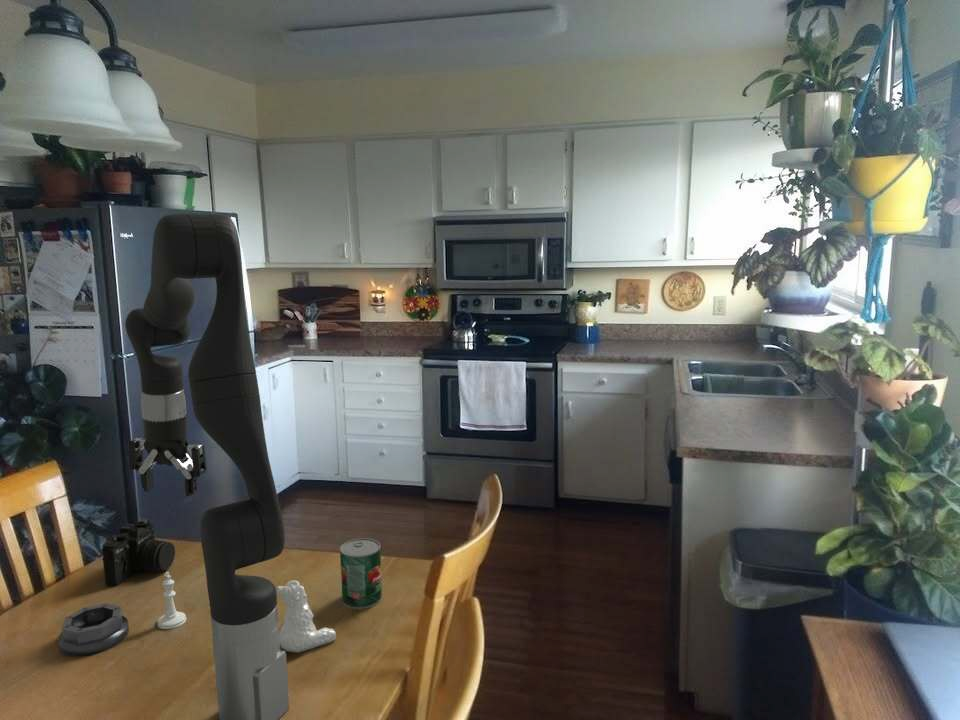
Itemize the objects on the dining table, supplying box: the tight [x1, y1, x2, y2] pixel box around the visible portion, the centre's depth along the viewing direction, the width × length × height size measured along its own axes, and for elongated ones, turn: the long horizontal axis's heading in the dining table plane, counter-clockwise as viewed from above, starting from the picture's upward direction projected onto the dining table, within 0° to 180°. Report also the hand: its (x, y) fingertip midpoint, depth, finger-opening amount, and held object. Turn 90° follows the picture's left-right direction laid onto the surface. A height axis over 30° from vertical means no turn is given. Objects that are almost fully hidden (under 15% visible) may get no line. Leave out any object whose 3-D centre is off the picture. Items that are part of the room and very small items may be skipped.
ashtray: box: [57, 603, 130, 657], centre depth 122 cm, size 11×11×4 cm
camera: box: [101, 518, 176, 588], centre depth 146 cm, size 14×11×10 cm
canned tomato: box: [339, 537, 383, 610], centre depth 134 cm, size 8×8×11 cm
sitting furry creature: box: [276, 579, 337, 654], centre depth 119 cm, size 10×9×12 cm
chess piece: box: [157, 571, 187, 630], centre depth 127 cm, size 5×5×10 cm
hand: (169, 492), depth 131 cm, fingers open, 8 cm apart
